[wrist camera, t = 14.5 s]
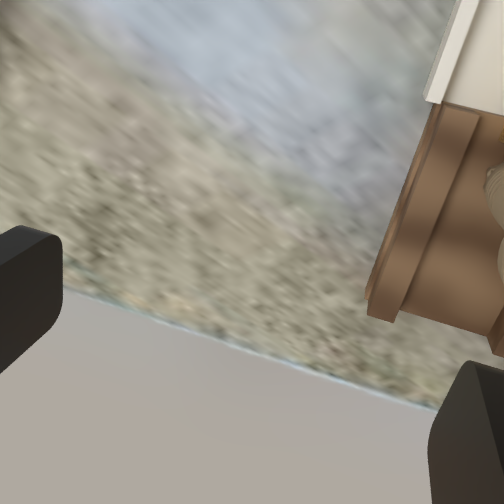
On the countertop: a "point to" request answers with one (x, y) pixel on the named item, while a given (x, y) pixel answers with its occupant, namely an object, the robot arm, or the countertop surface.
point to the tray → (471, 58)
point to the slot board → (446, 230)
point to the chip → (502, 136)
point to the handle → (496, 204)
